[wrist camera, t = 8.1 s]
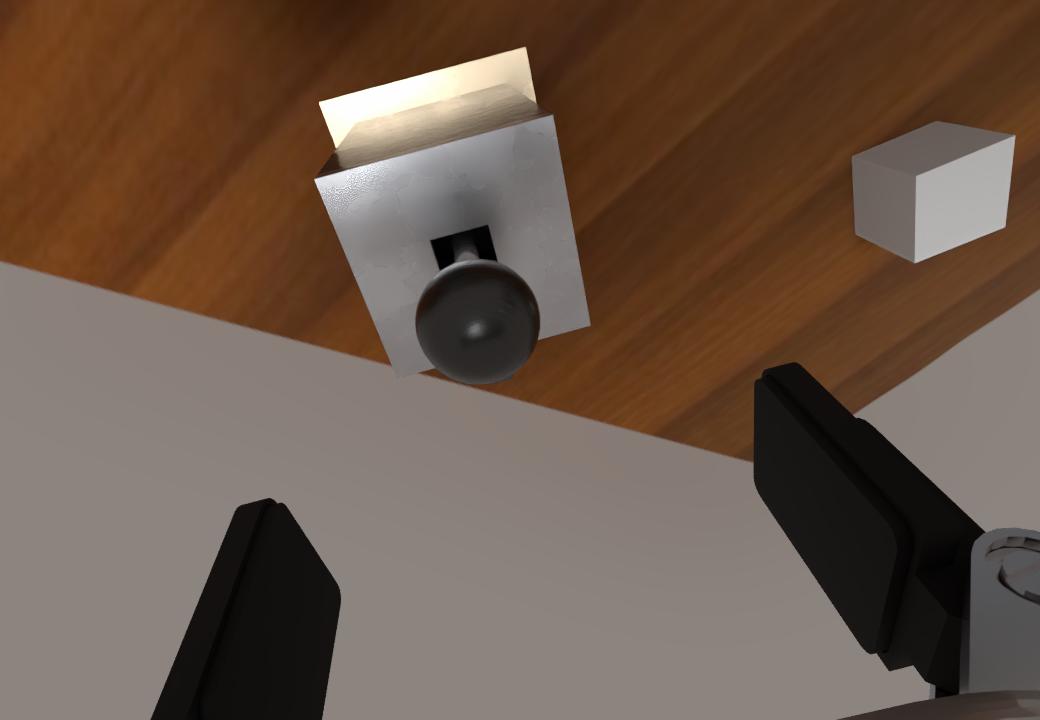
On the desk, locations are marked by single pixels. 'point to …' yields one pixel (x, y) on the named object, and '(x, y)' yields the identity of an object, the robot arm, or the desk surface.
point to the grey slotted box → (450, 191)
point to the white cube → (932, 189)
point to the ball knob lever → (476, 313)
